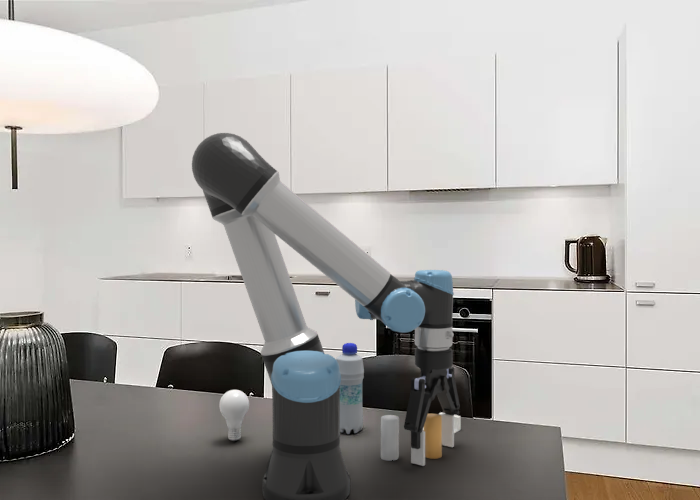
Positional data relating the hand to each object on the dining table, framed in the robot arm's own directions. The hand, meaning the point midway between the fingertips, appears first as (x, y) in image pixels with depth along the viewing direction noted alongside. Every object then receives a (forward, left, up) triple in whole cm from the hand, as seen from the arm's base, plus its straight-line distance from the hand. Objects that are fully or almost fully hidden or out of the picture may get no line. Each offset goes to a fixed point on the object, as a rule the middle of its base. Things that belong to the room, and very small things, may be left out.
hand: (433, 454), depth 122 cm
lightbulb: (-18, +39, 0) cm, 43 cm away
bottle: (+2, +23, 0) cm, 23 cm away
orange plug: (0, 0, 0) cm, 0 cm away
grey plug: (-6, +7, 0) cm, 9 cm away
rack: (+11, +5, 0) cm, 12 cm away
